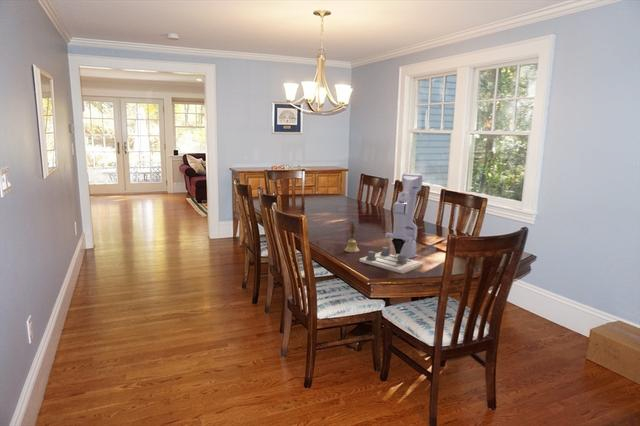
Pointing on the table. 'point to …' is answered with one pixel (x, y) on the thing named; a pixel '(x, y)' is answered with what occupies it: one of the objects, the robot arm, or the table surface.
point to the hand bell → (352, 241)
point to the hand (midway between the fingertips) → (398, 253)
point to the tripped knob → (401, 259)
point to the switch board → (392, 263)
